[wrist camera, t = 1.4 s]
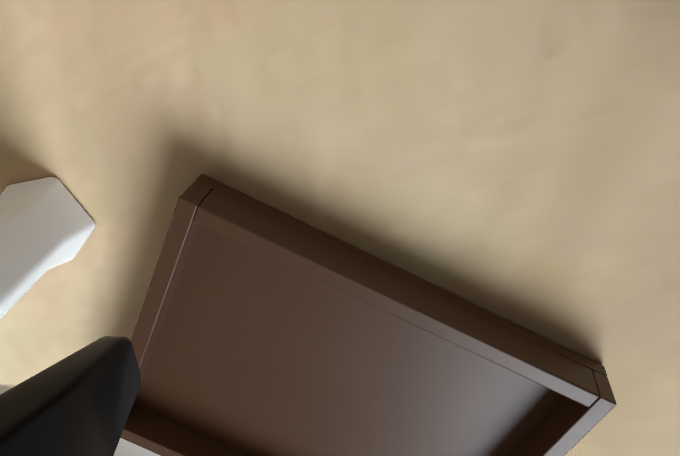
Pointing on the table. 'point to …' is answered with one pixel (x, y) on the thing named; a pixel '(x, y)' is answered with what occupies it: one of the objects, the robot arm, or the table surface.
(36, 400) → the robot arm
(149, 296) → the tray
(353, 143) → the table surface
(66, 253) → the perfume bottle
